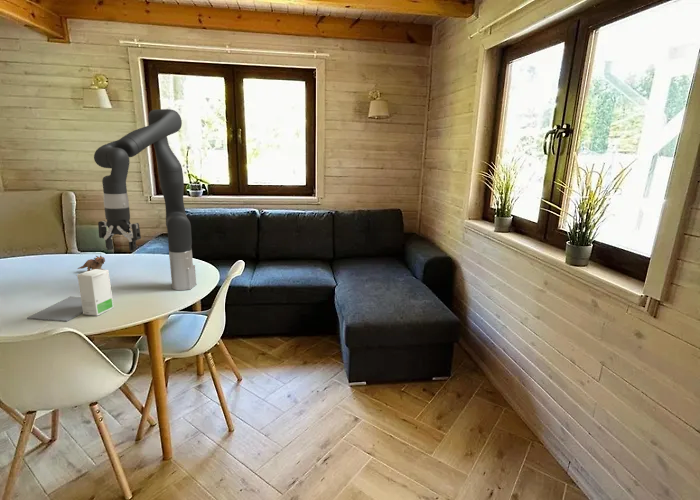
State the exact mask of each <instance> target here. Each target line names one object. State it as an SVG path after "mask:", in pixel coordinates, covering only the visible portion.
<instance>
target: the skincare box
mask: <svg viewBox="0 0 700 500" xmlns="http://www.w3.org/2000/svg"><path fill="white" fill-rule="evenodd" d="M101 269H102V268H101ZM101 269H94V270H91V269H90V271H87V270H86V271H84V272H81V273H77V275H76V276H77V282H78V288H79V294H80V297H81V301H82V308H83V313H82V315H87V316H88V315H89V316H96V317H98V316H99V315H102V314H104V313H106V312H109V311H110V310H112V309H114V300H113V293H112V286H111V280H110V279H111V278H110V273H109V272H110V271H109V269H104V270H101Z"/></svg>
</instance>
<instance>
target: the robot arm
mask: <svg viewBox="0 0 700 500" xmlns="http://www.w3.org/2000/svg"><path fill="white" fill-rule="evenodd" d="M147 119H148V120H147V122H148V125H146V126H143V127H141V128H137V129H135V130H133V131H130V132H128V133H126V134H125V135H124V136H122V137H121V138H119V139H117V140H113V141H111V142H108V143H105V144H103V145H101V146H100V147H98V148H97V149H96V150H95V151H94V154H93V161H94V162H95V164H96V165H98V166H99V167H101V168H103V169H111V170H110V174H109V175H105V176H103V177H102V190H103V191H102V192H103V207H104V217H105V218H104V219H105V220H100V221H98V222H97V224H98V225H97V226H98V238H100V239H103V240H104V241H105V248H106V250H107V251H112V250H114V243H113V239H112V238H113V237H114V235H119V236H123V237H124V238H126V239H127V240H128V247H129V252H131V253H134V252H135V251H136V250H137V241H138V240H141V239H142V237H141V231H140V229H141V228H140V223H139V222H135V223H131V221H130V219H131V212H130V202H129V196H128V189H127V188H128V187H127V178H128V173H129V168H130V158H133V157H136V156H137V155H138V154H140V153H141V152H143V150H145V149H146V148H148V147H150V146H151V145H153V148H154V152H155V158H156V163H157V165H156V166H157V171H158V172H157V173H158V180H159V183H160V184H159V185H160V188H161V193H162V197H163V199H164V205H165V207H164V208H165V225H166V228H167V229H166V230H167V239H168V243H167V244H168V245H167V246H168V254H169V255H168V256H169V267H170V275H171V276H170V279H171V286H172V287H171V289H173V290H175V291H185V290H186V291H187V290H192V289H193V288H194V287H196V286H197V276H196V275H197V274H196V265H194V263H193V260H194V259H193V248H192V247H193V246H192V245H193V239H192V225H191V221H190V219H189V218H188V216H187V213H186V212H187V211H186V209H185V208H186V207H185V202H184V190H185V189H184V188H185V182H184V172H183V167H182V164H181V162H180V159H179V158H177V156H176V154H175V153H174V152H173V150H172V149H171V146H170V145H169V140H168V136H170V135H173V134H175V133H178V132H179V131H180V130H181V128H182V124H183V123H182V121H183V120H182V117H181V115H180V114H179V112H178V111H176V110H174V109H171V108H169V109H168V108H163V109H152V110H150V111H149V113H148V117H147ZM107 228H108V229H107Z"/></svg>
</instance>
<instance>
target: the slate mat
mask: <svg viewBox="0 0 700 500" xmlns="http://www.w3.org/2000/svg"><path fill="white" fill-rule="evenodd" d="M81 314H83V308H82V301H81V296H69V297H66V298H64V299H62V300H61V301H58V302H56V303H54V304H52V305H50V306H48V307H45V308H43V309H41V310H40V311H37V312H35V313H34V314H32V315H28V316H27V317H26V319H27V320H38V321H40V320H41V321H54V322H64V323H65V322H69V321H71V320H73V319H74V318H77V316H80V315H81Z"/></svg>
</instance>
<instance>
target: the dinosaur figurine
mask: <svg viewBox="0 0 700 500" xmlns="http://www.w3.org/2000/svg"><path fill="white" fill-rule="evenodd" d="M105 262H106V259H105V257H104V256H102V255H100V256H98V255H95V257H93V259H88V260H86V261H85V262H84V264H83V265H82V266H79V267H78V268H77V270H79V269H80V270H81V269H85V268H86V269H87V270H86V271H90V270H94V269H101V270H105V269H103V268H102V267H103V264H104V263H105Z"/></svg>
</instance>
